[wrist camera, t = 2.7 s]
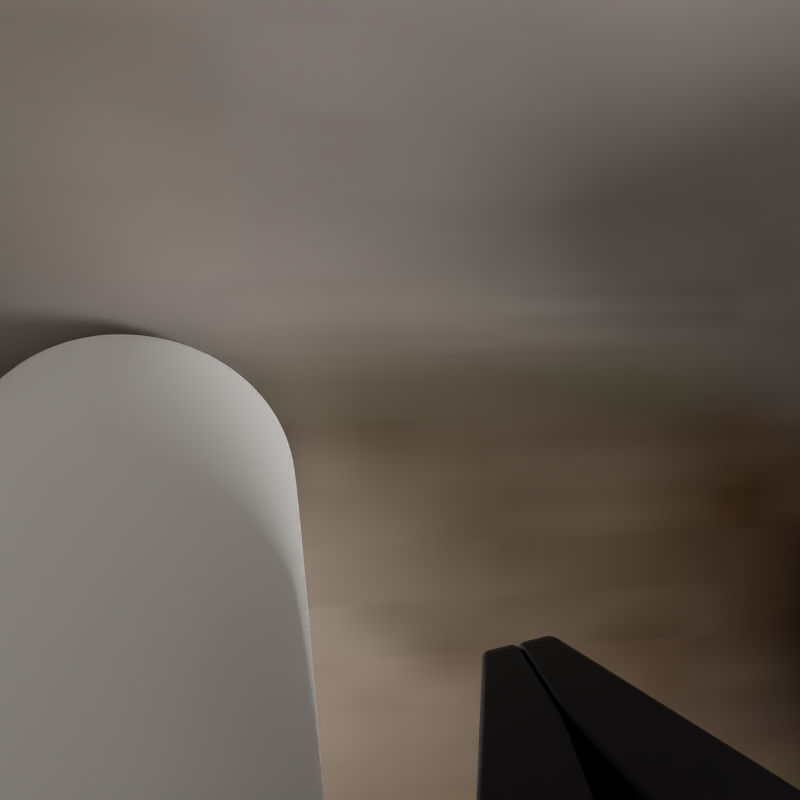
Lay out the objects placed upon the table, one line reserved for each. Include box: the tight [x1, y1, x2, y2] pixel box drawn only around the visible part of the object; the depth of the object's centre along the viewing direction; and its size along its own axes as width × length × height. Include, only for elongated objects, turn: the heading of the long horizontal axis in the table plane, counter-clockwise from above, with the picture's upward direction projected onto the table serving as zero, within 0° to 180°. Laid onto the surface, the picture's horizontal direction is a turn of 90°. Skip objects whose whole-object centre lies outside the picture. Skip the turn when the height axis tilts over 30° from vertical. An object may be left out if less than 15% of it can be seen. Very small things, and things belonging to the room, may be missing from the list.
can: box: [0, 334, 324, 800], centre depth 10 cm, size 6×6×12 cm
